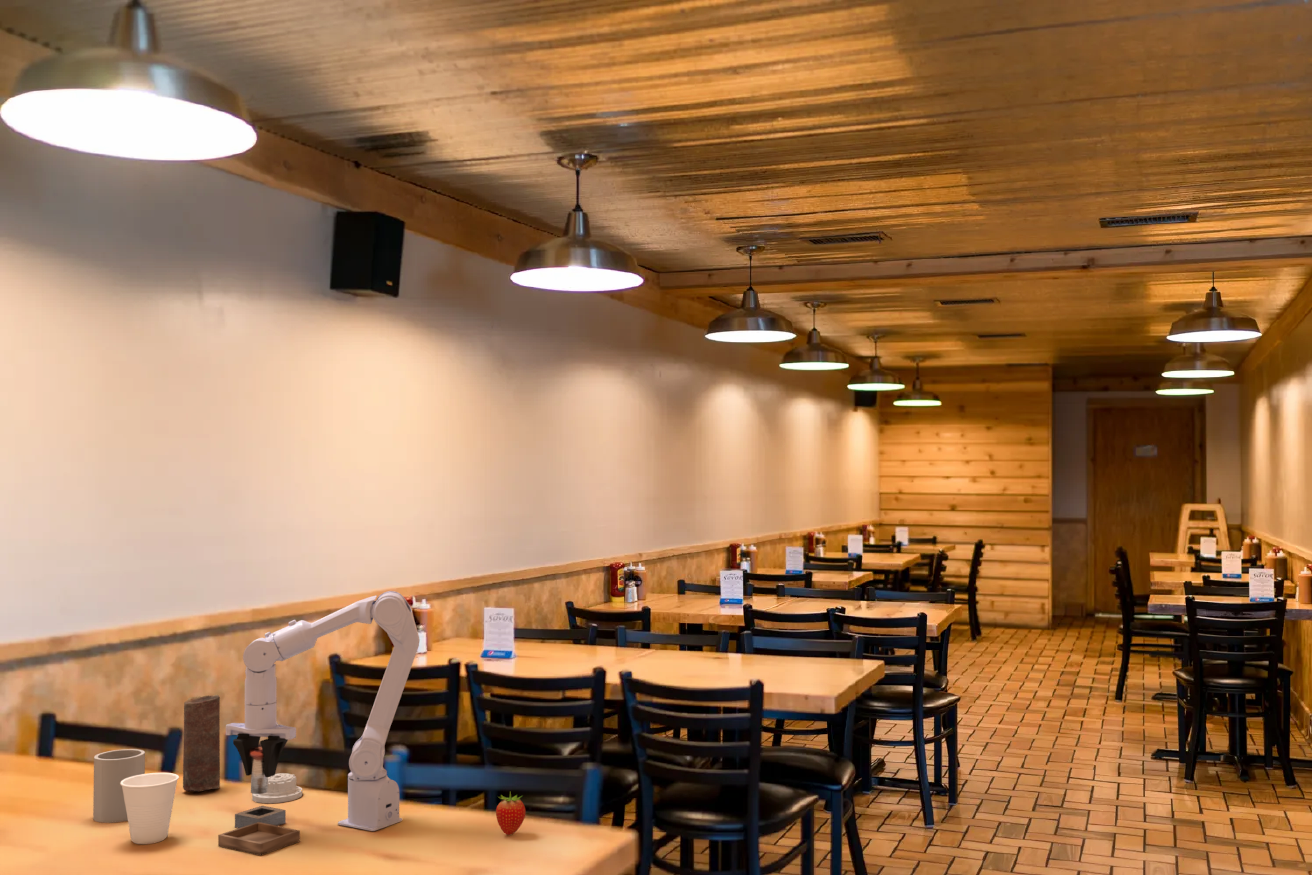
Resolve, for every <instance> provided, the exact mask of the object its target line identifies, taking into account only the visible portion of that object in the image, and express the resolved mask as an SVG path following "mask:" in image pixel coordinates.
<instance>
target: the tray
mask: <svg viewBox="0 0 1312 875" xmlns="http://www.w3.org/2000/svg"><path fill="white" fill-rule="evenodd" d="M217 840H218V841H217V843H218V844H217V846H218V847H219V848H220V847H221V848H224V849H229V850H233V851H239V852H243V853H245V854H246V853H247V854H252V855H257V856H263V855H266V854H268V853H271V852H274V851H277V850H280V849H283V848H286V847H288V846H291V845H294V844H296V843H300V842H301V830H300V829H294V828H290V827H284V826H281V825H279V826H276V825H271V824H266V823H261V822H257V823H254V824H251V825H247V826H244V827H241V828H235V829H232V830H229V831H225V832H223V833H220V834H218V839H217Z"/></svg>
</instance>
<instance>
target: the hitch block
mask: <svg viewBox="0 0 1312 875" xmlns="http://www.w3.org/2000/svg"><path fill="white" fill-rule="evenodd" d="M286 812H287V811H286V809H281V808H277V807H271V806H267V805H266V806H265V805H259V806H256V807H253V808H250V809H247V810H243V811H240V812H236V813H234V828H235V829H238V828H241V827H244V826H247V825H251V824H254V823H257V822H261V823H266V824H271V825H276V826H281V825H284V824H286V823H287V822H286V817H287V816H286Z"/></svg>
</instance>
